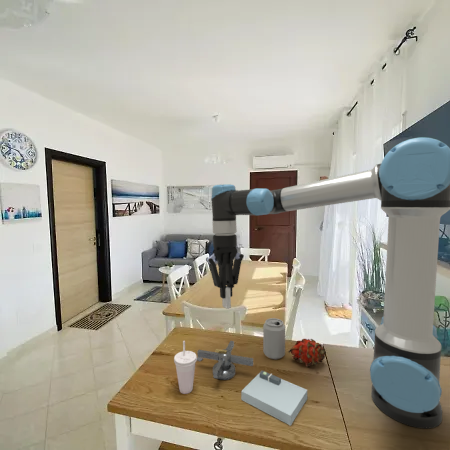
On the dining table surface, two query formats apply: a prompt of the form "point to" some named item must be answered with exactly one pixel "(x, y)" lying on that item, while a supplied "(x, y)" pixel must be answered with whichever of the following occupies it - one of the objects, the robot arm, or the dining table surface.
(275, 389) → the pale grey switch box
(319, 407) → the dining table surface
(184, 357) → the smoothie
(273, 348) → the can
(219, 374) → the capstan
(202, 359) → the tick mark
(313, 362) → the dragon fruit
